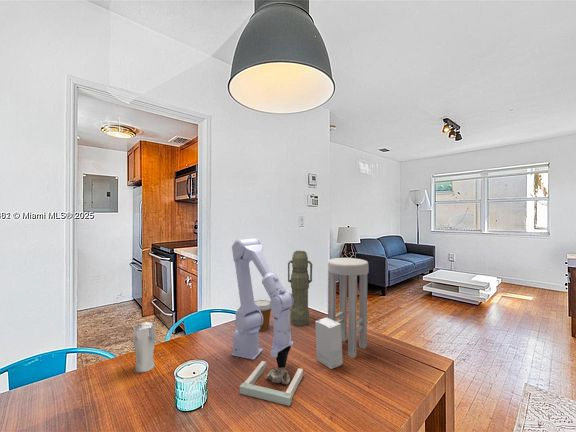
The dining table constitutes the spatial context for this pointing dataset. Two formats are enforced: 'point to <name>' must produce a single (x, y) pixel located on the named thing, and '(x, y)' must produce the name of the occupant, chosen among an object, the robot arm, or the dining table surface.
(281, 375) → the ornament
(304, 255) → the thermos
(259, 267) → the robot arm
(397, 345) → the dining table surface
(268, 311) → the disposable coffee cup
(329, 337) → the skincare box
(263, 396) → the u-shaped frame
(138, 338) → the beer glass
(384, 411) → the dining table surface
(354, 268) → the stool
